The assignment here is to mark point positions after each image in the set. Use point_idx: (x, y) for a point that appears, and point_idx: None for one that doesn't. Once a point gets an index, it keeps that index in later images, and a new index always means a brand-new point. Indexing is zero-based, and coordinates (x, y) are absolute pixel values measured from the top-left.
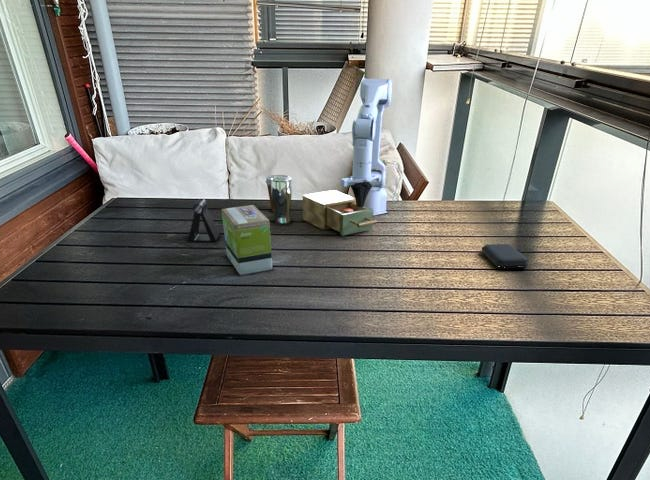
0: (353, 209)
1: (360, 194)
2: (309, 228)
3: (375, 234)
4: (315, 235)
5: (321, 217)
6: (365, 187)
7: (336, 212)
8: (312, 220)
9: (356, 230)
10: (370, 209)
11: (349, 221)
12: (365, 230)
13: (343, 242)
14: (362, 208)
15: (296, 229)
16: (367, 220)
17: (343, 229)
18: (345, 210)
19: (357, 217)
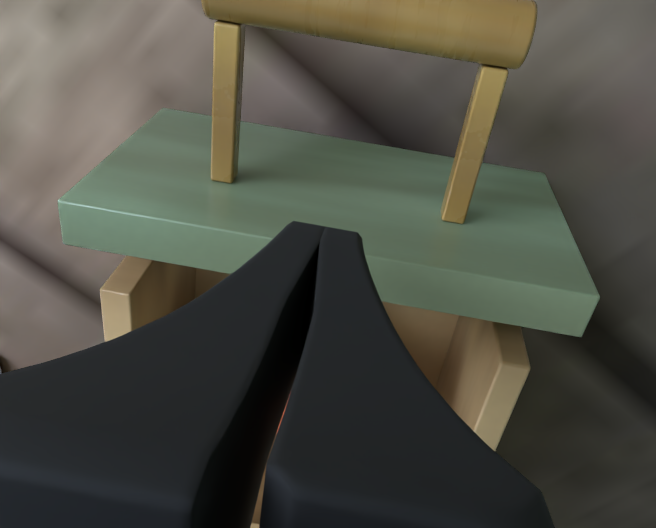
0: None
1: (413, 377)
2: (520, 464)
3: (193, 17)
4: (628, 357)
5: None
6: (282, 467)
7: (504, 422)
8: None
9: (365, 151)
10: (108, 214)
11: (474, 222)
12: (250, 123)
13: (633, 74)
14: None
15: (602, 502)
16: (201, 159)
17: (547, 199)
18: None
19: (349, 214)
